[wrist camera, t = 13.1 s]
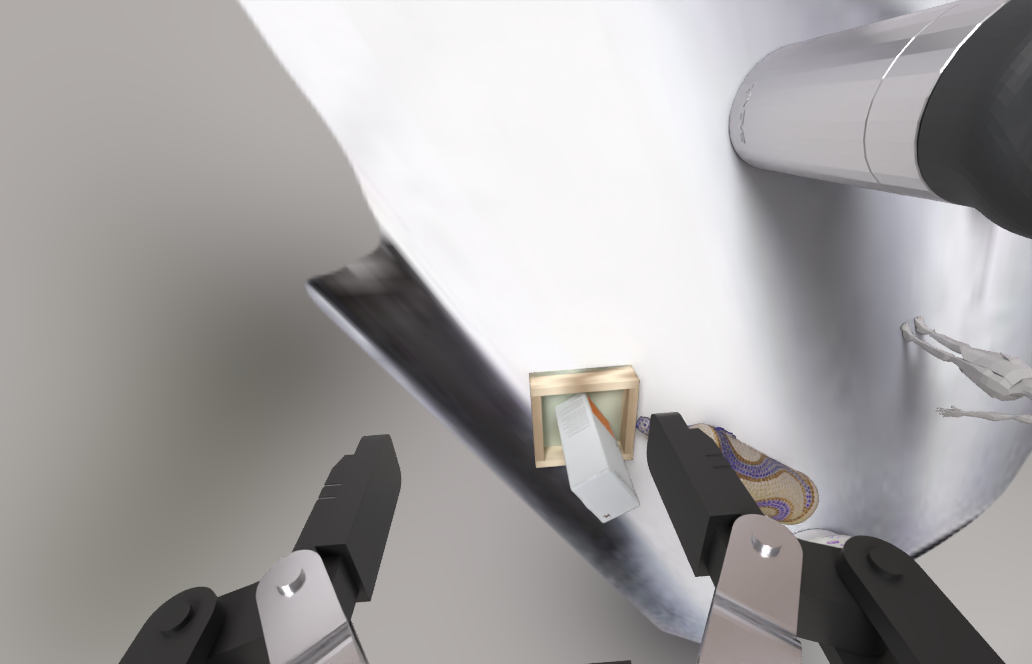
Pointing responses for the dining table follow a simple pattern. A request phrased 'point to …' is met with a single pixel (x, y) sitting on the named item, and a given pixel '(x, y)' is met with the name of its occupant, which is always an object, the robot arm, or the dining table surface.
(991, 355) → the human figurine
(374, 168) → the dining table surface
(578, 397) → the skincare box
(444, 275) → the dining table surface
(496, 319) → the dining table surface
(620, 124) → the dining table surface
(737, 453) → the decorative bottle
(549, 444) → the pocket tray
